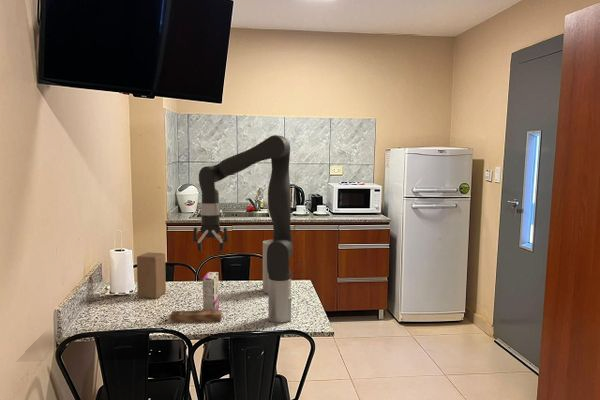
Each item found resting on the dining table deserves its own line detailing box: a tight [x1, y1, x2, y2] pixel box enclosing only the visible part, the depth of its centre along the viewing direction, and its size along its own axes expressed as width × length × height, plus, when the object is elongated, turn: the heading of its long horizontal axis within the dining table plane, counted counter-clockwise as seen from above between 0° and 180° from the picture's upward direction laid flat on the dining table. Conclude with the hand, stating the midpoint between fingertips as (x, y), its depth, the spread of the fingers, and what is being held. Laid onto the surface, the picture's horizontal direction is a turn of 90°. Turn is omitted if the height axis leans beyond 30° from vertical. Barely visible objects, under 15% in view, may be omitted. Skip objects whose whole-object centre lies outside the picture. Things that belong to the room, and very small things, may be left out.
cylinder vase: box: [262, 239, 273, 295], centre depth 231 cm, size 12×12×25 cm
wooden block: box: [136, 251, 167, 300], centre depth 222 cm, size 10×10×20 cm
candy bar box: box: [202, 271, 220, 311], centre depth 199 cm, size 11×5×16 cm, turn 0°
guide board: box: [169, 309, 223, 323], centre depth 191 cm, size 20×5×3 cm, turn 94°
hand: (210, 251), depth 198 cm, fingers open, 8 cm apart
